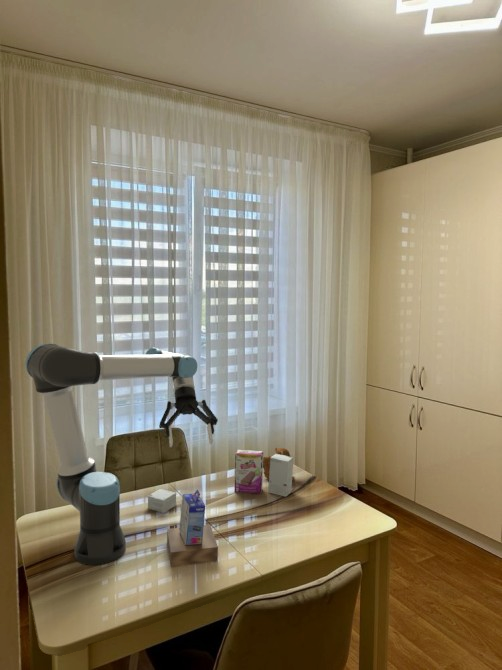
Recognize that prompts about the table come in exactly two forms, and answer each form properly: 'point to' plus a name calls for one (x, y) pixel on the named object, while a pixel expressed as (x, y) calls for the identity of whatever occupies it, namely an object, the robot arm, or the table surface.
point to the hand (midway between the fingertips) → (191, 443)
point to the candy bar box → (248, 471)
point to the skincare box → (280, 475)
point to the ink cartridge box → (192, 518)
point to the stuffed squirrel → (267, 461)
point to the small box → (162, 500)
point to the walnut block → (191, 548)
